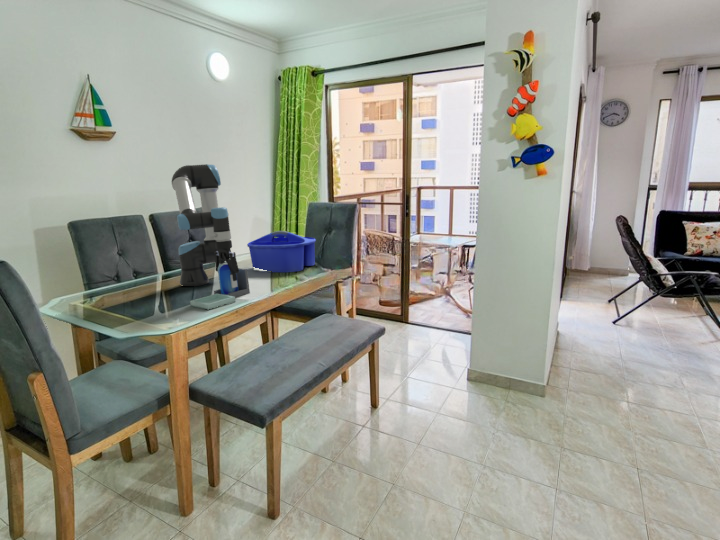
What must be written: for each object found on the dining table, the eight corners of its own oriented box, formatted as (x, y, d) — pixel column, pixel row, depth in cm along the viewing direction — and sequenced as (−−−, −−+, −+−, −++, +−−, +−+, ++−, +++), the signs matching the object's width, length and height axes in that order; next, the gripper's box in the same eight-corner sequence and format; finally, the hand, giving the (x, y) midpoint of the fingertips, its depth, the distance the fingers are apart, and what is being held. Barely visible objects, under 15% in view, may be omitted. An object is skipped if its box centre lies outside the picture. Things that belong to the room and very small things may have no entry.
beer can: (223, 298, 205) (218, 265, 202) (219, 294, 213) (215, 262, 210) (240, 295, 209) (236, 262, 206) (237, 291, 216) (233, 260, 213)
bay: (214, 295, 212) (211, 271, 209) (233, 290, 220) (230, 267, 218) (230, 298, 203) (227, 273, 201) (249, 293, 212) (246, 269, 210)
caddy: (301, 273, 250) (297, 233, 246) (239, 272, 268) (235, 234, 263) (326, 263, 279) (323, 227, 274) (269, 262, 296) (265, 228, 292)
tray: (190, 306, 195) (190, 300, 194) (217, 298, 206) (217, 293, 205) (208, 310, 186) (207, 304, 186) (235, 302, 197) (234, 296, 196)
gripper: (203, 240, 209) (210, 285, 214) (229, 242, 196) (235, 290, 201) (217, 238, 215) (223, 282, 219) (243, 239, 202) (248, 286, 206)
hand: (229, 286), depth 210 cm, fingers closed on beer can, 8 cm apart
